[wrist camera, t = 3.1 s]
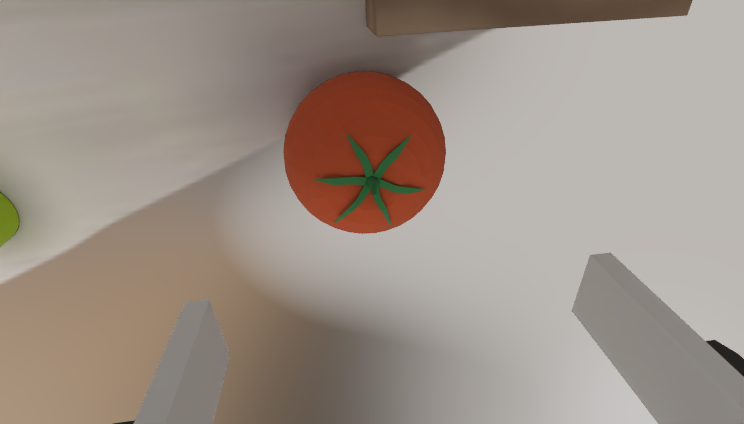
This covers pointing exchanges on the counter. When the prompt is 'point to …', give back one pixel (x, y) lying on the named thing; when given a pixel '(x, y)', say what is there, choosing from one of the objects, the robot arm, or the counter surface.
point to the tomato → (364, 152)
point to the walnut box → (506, 13)
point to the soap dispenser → (7, 219)
